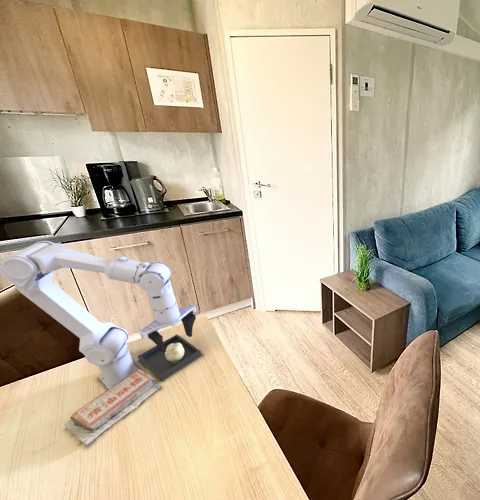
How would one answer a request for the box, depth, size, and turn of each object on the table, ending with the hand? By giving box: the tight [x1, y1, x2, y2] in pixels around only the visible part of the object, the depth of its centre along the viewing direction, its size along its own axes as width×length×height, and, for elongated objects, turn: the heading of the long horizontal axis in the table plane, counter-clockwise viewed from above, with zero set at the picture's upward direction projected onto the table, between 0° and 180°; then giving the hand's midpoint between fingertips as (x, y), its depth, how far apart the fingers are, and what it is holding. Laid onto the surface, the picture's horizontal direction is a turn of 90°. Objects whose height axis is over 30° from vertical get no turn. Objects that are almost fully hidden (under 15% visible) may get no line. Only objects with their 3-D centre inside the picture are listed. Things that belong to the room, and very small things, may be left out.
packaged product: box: [63, 368, 161, 446], centre depth 75 cm, size 18×5×10 cm
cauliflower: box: [165, 343, 184, 364], centre depth 90 cm, size 5×5×6 cm
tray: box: [137, 334, 202, 382], centre depth 92 cm, size 14×12×2 cm
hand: (176, 342), depth 84 cm, fingers open, 7 cm apart
